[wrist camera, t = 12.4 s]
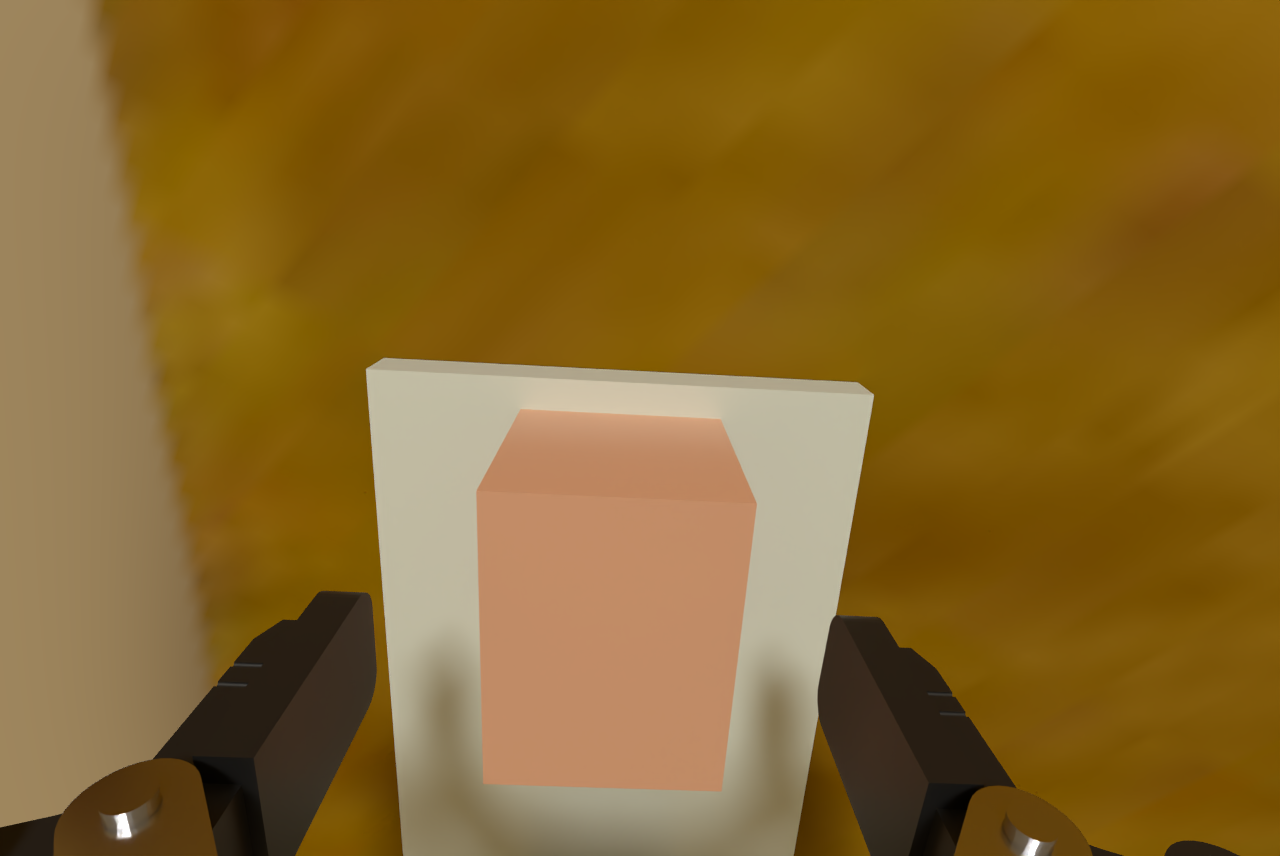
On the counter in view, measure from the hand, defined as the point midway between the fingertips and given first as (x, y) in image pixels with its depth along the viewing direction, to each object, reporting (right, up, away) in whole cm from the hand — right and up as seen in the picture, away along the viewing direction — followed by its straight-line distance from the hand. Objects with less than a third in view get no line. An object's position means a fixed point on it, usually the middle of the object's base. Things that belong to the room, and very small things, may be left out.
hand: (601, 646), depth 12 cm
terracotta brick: (0, +1, +5) cm, 5 cm away
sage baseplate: (0, -6, +9) cm, 10 cm away
